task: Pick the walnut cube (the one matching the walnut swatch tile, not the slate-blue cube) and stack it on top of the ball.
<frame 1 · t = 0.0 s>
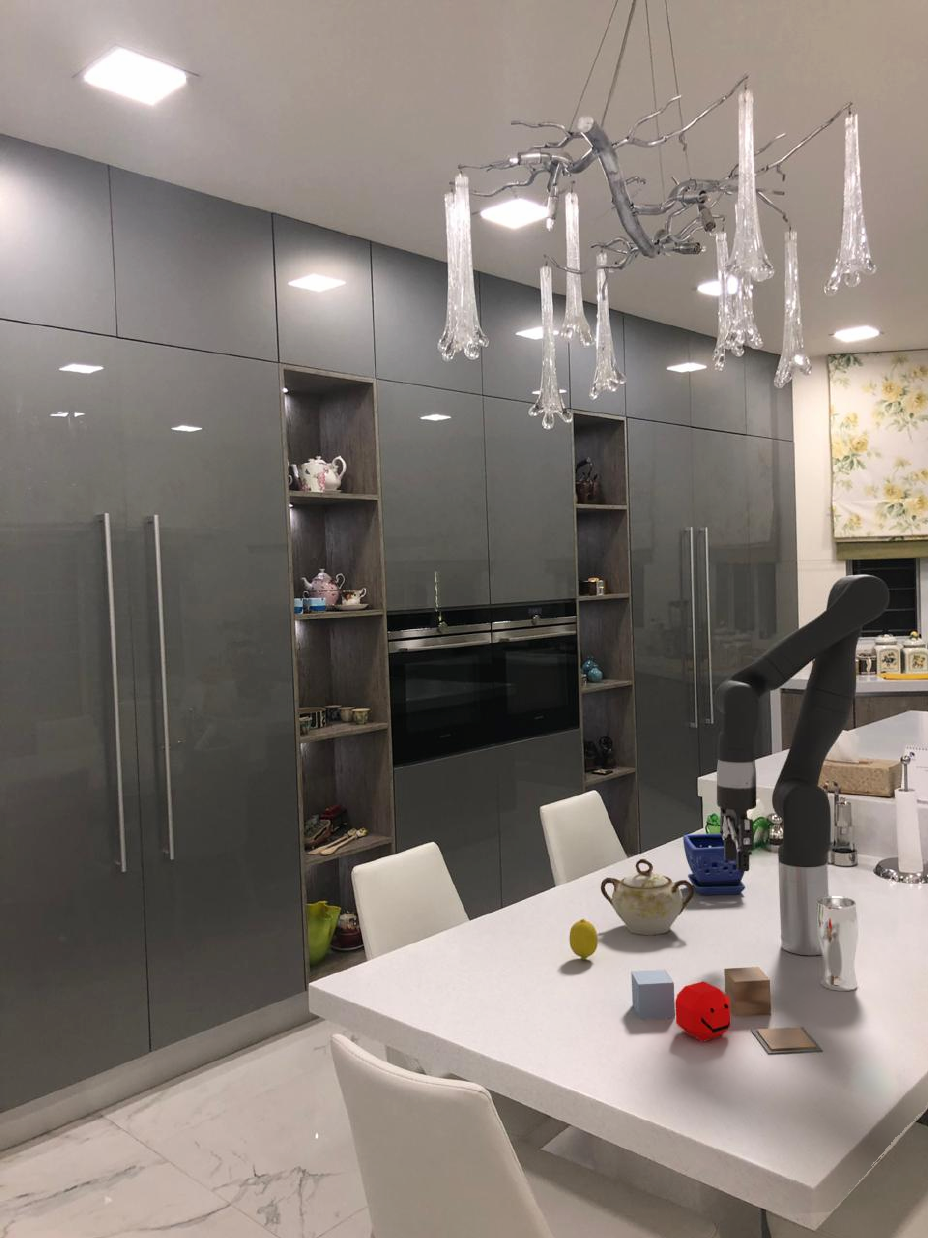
hand: (736, 865, 199), 17 cm above the table, tool pointing down, fingers open, 8 cm apart
lemon: (584, 960, 199), on the table
sugar bowl: (648, 930, 215), on the table
beer glass: (839, 986, 181), on the table
slate cube: (653, 1011, 173), on the table
walnut cube: (748, 1009, 173), on the table
walnut swatch: (786, 1041, 160), on the table
flower pot: (716, 890, 242), on the table
ball: (703, 1035, 163), on the table
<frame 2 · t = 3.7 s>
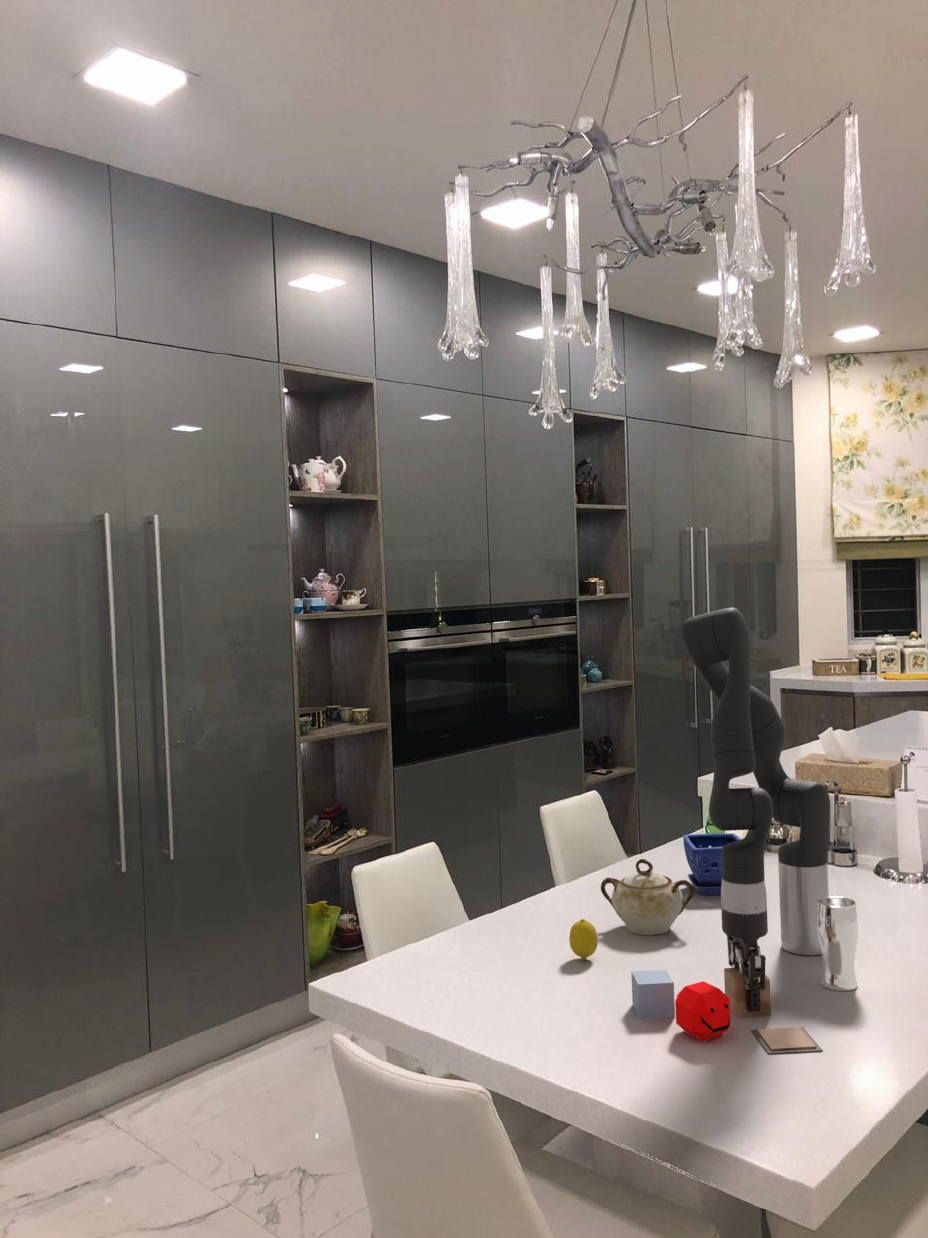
hand: (747, 1003, 172), 1 cm above the table, tool pointing down, fingers closed on walnut cube, 6 cm apart
walnut cube: (747, 1008, 172), on the table, touching gripper
everything else where it was.
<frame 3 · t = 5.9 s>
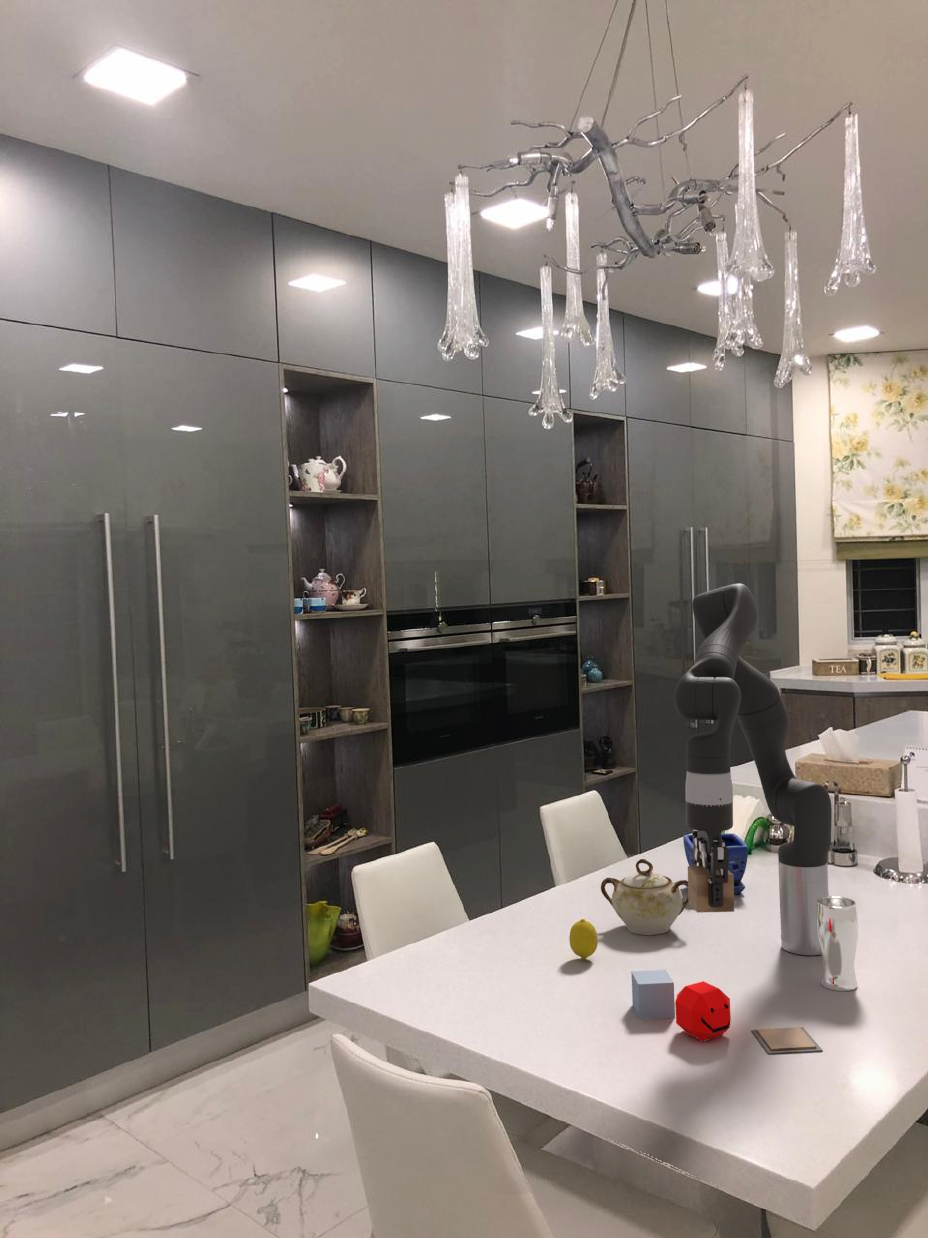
hand: (710, 900, 166), 21 cm above the table, tool pointing down, fingers closed on walnut cube, 6 cm apart
walnut cube: (710, 906, 166), point 20 cm above the table, touching gripper
everything else where it was.
when the fingers open (10 cm above the table, at t = 8.6 s): walnut cube drops 2 cm, resting on ball.
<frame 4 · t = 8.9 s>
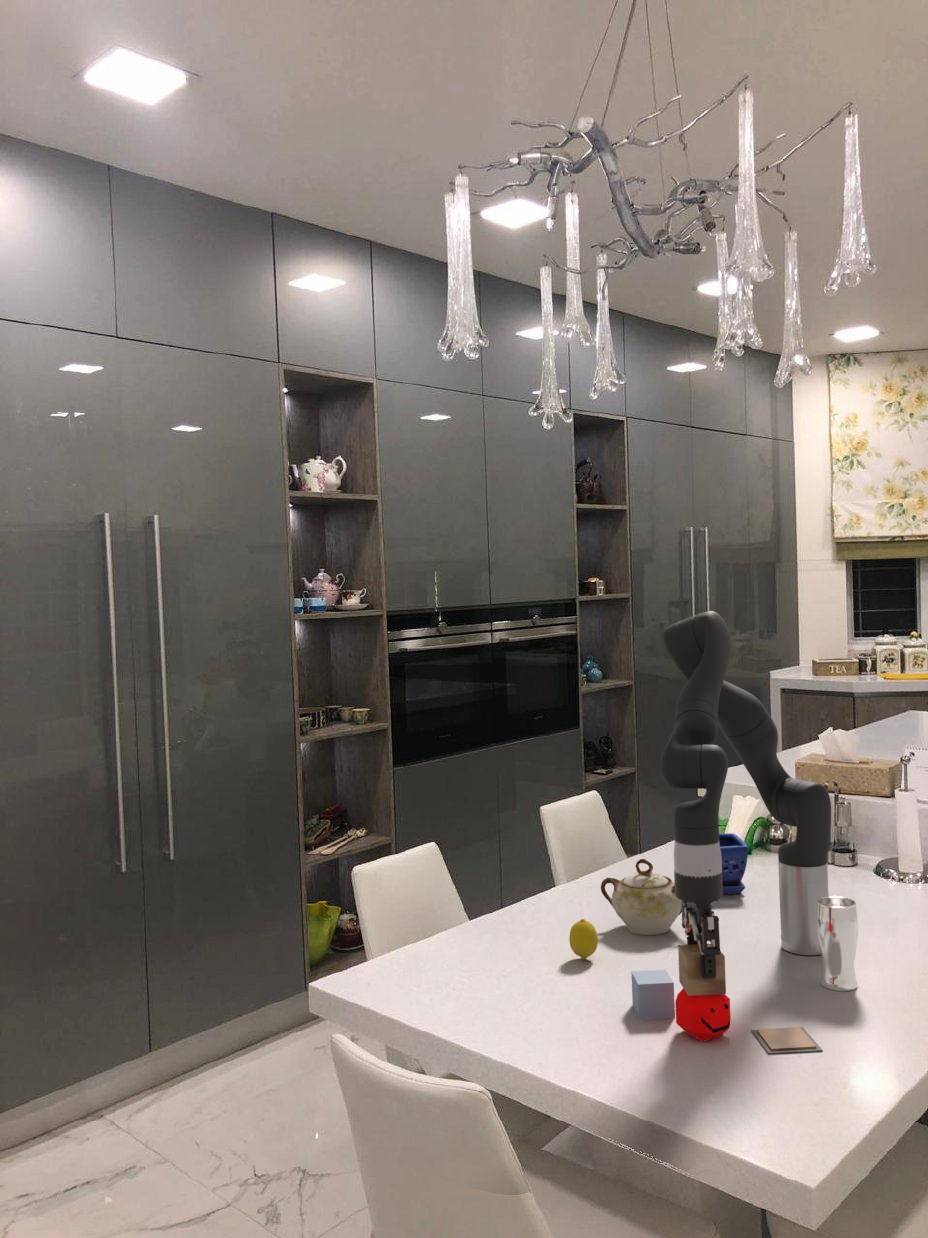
hand: (701, 968, 163), 11 cm above the table, tool pointing down, fingers open, 8 cm apart
walnut cube: (702, 987, 163), point 8 cm above the table, touching ball
ball: (703, 1035, 163), on the table, touching walnut cube
everything else where it was.
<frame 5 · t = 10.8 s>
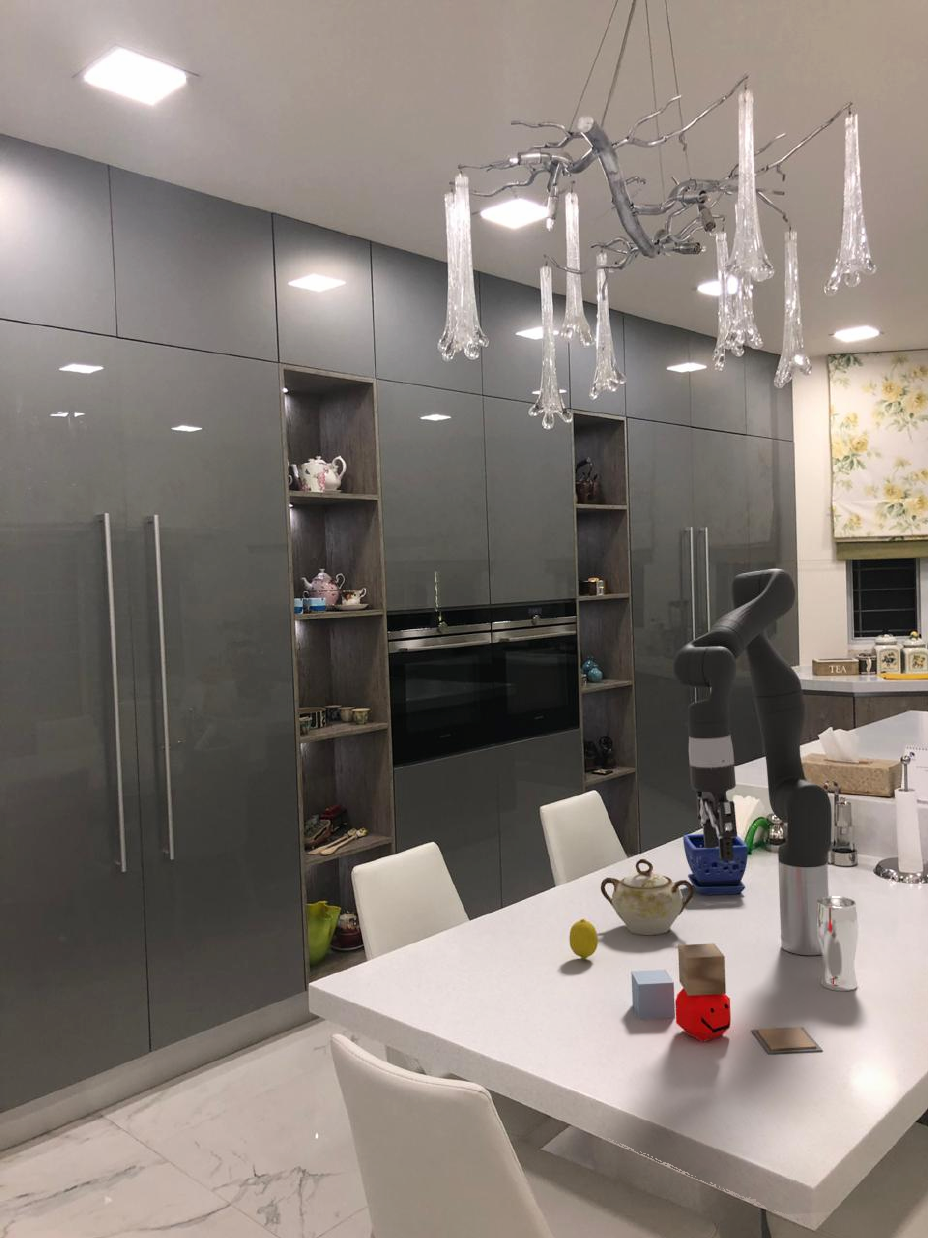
hand: (718, 853, 176), 26 cm above the table, tool pointing down, fingers open, 8 cm apart
nothing on the table moved.
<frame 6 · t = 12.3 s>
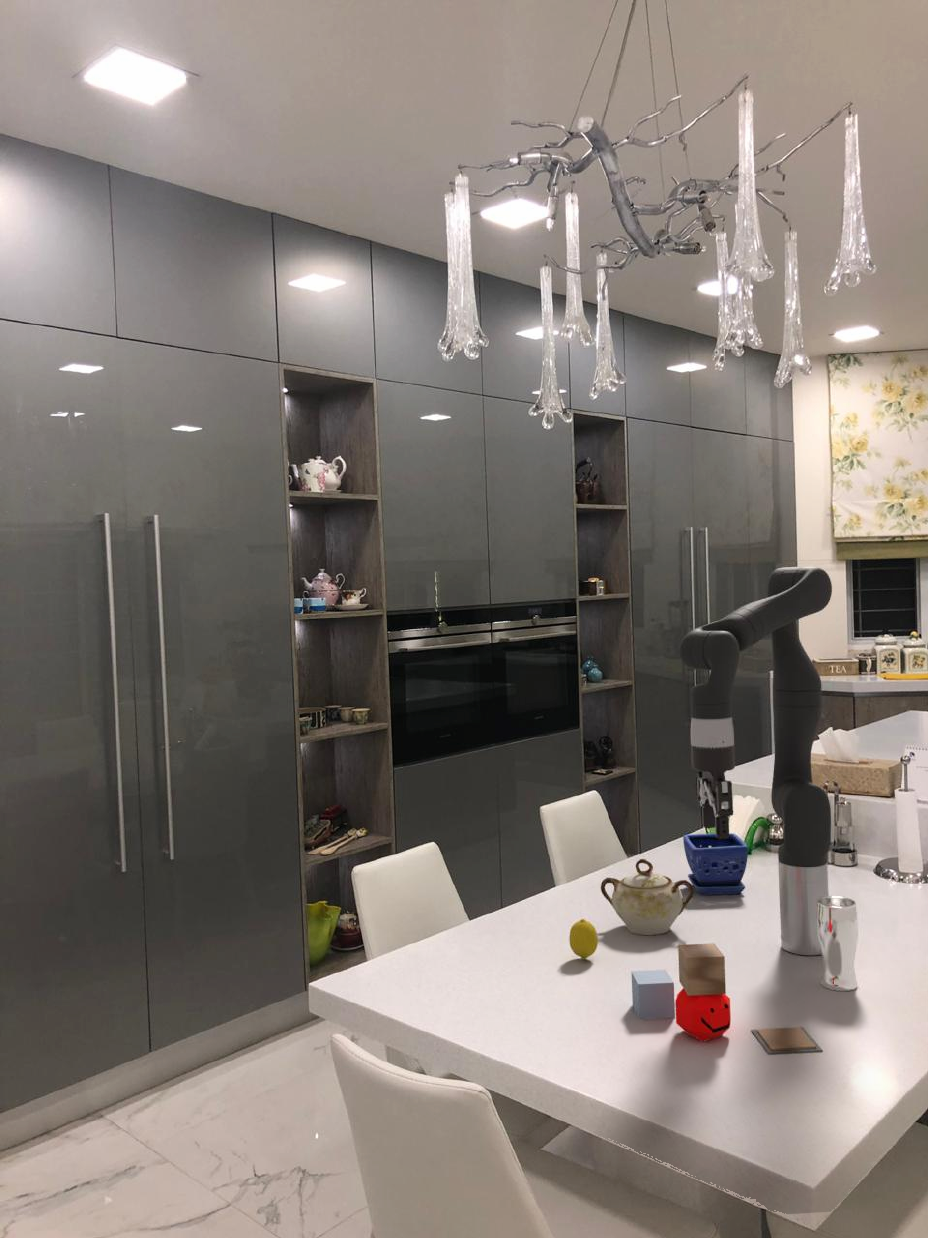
hand: (715, 832, 181), 28 cm above the table, tool pointing down, fingers open, 8 cm apart
nothing on the table moved.
at the end: walnut cube 0.0 cm off-centre on the ball, point 7.8 cm above the ball's base; slate cube moved 0.1 cm from its start; the gripper is holding nothing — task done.
